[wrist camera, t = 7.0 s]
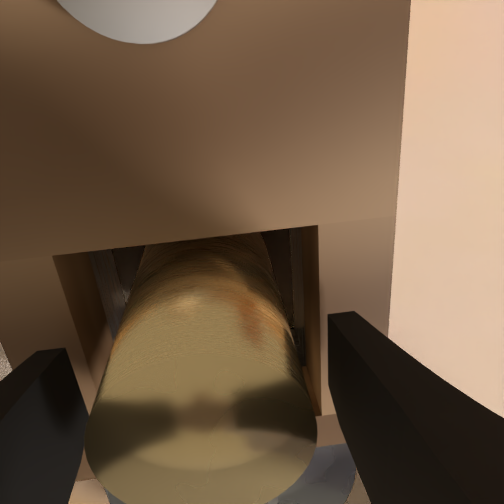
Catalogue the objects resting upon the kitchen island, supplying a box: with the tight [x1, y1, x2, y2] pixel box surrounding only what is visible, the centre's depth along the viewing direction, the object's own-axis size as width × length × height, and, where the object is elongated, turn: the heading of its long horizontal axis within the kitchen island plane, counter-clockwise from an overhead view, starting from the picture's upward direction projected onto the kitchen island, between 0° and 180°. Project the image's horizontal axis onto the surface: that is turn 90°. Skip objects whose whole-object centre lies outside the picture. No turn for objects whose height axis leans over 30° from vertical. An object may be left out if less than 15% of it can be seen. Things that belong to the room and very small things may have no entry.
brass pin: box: [84, 232, 318, 504], centre depth 10 cm, size 4×4×7 cm
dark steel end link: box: [88, 227, 356, 504], centre depth 14 cm, size 16×9×3 cm, turn 5°
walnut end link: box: [0, 0, 411, 481], centre depth 10 cm, size 16×9×5 cm, turn 5°
